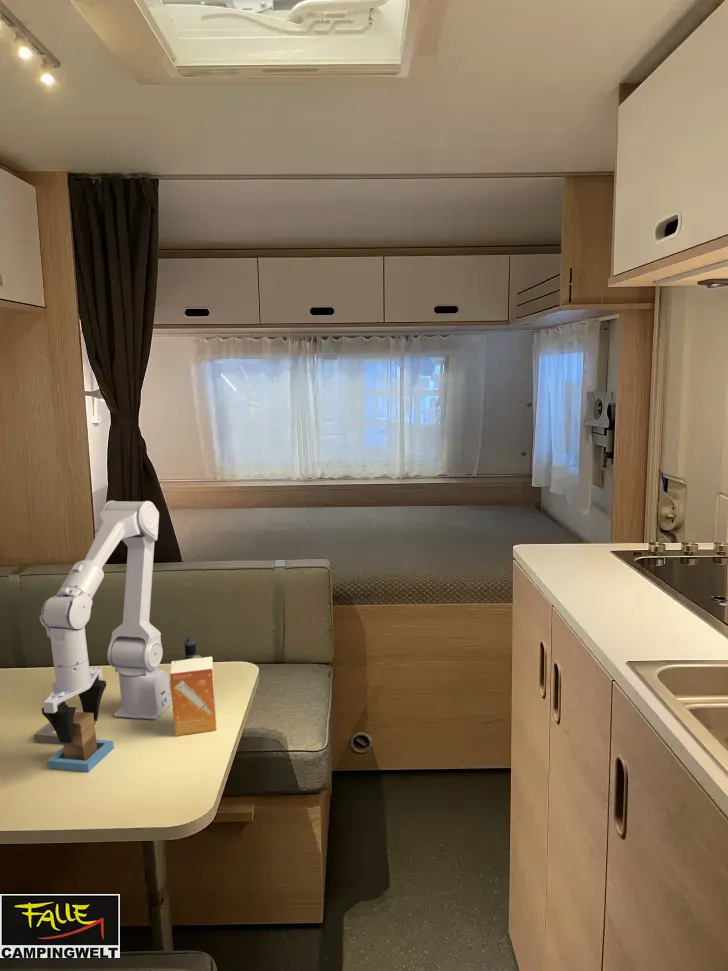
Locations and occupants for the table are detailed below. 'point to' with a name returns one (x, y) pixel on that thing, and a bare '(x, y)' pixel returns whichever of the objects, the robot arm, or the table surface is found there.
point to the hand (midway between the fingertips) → (79, 731)
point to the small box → (193, 695)
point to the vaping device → (190, 649)
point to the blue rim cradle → (80, 765)
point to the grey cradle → (47, 735)
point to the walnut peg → (81, 738)
